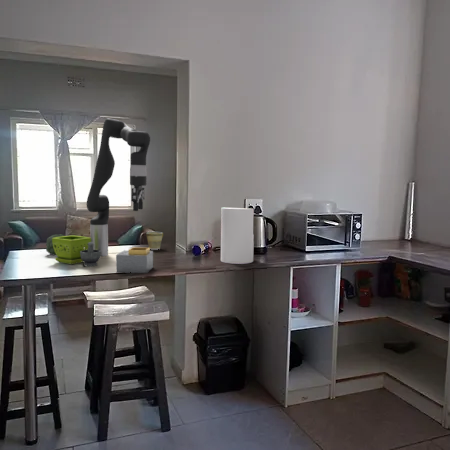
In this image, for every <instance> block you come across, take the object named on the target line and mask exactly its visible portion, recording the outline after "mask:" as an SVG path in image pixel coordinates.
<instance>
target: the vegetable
mask: <svg viewBox="0 0 450 450" xmlns="http://www.w3.org/2000/svg"><path fill="white" fill-rule="evenodd" d="M62 236H65V235H64V234H61V233H60V234H52V235H51V236H49V237H47V239H46V243H45V248H46V249H45V251H46V252H47V253H48V254H50V255H53V256H57V255H56V253H55V251H54V248H53V243H52V238H54V237H62ZM61 247H62V246H61ZM58 248H59V247H58ZM64 250H65V248H64Z"/></svg>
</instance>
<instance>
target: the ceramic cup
mask: <svg viewBox="0 0 450 450" xmlns="http://www.w3.org/2000/svg"><path fill="white" fill-rule="evenodd" d="M145 236H146V240H147V245H148V248H150V249H151V250H150V251H158V249H159V250H160V249H161V245H162V239H163V237H164V232H161V231H147V232H146V233H145Z"/></svg>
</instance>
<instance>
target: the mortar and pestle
mask: <svg viewBox="0 0 450 450" xmlns="http://www.w3.org/2000/svg"><path fill="white" fill-rule="evenodd" d="M93 246H94V243H93V242H89V243H88V250H83V251H80V255H81V259H82V261H84V262H83V266H84V267H95V266H98V263H97V262H99V260H100V259H101V256H100V255H101V251H100V250H93Z"/></svg>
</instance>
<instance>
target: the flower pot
mask: <svg viewBox="0 0 450 450" xmlns="http://www.w3.org/2000/svg"><path fill="white" fill-rule="evenodd" d="M89 242H91V236H90V237H89V236H83V235H82V236H81V235H64V236H62V237H54V238H52V243H53V248H54V251H55V253H56V255H55V256H56V257H55V258H54V259H55V261H56V262H58V263H61V264H66V265H67V264H68V265H74V264H81V263H85V262H84V261H82V259H81V255H80V251H83V250H88V243H89ZM61 246H62V247H61ZM58 247H59V248H58ZM64 248H65V250H64Z"/></svg>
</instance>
